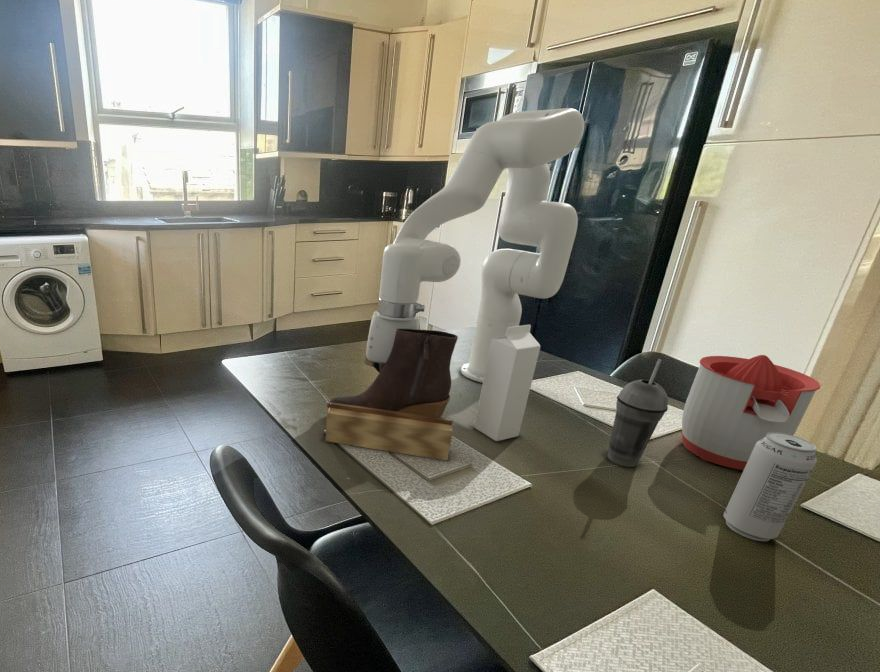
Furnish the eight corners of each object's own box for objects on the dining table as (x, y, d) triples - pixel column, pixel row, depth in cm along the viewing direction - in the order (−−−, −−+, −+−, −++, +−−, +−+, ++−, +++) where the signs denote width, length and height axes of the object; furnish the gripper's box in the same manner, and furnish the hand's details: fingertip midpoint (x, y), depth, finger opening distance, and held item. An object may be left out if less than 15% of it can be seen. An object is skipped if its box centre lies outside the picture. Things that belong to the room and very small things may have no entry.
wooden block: (446, 452, 89) (452, 419, 86) (447, 460, 86) (453, 427, 84) (327, 433, 94) (330, 402, 91) (325, 441, 91) (327, 408, 88)
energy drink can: (757, 520, 73) (800, 433, 68) (786, 547, 68) (835, 455, 62) (712, 513, 74) (750, 427, 69) (736, 539, 69) (780, 448, 63)
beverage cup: (638, 453, 90) (674, 353, 83) (652, 474, 84) (692, 368, 76) (594, 446, 92) (625, 347, 85) (604, 466, 86) (639, 361, 78)
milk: (518, 436, 95) (546, 329, 87) (495, 442, 93) (521, 332, 84) (494, 422, 100) (518, 319, 92) (472, 427, 98) (494, 322, 89)
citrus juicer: (689, 471, 85) (732, 366, 78) (658, 427, 100) (692, 335, 93) (803, 493, 80) (861, 383, 72) (753, 443, 95) (797, 347, 87)
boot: (324, 408, 104) (331, 318, 96) (438, 414, 103) (454, 323, 95) (325, 428, 96) (332, 331, 88) (448, 435, 94) (466, 338, 87)
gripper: (435, 307, 97) (423, 390, 104) (361, 300, 101) (353, 381, 108) (436, 317, 90) (423, 405, 97) (356, 309, 94) (349, 395, 101)
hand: (386, 392), depth 102 cm, fingers closed
